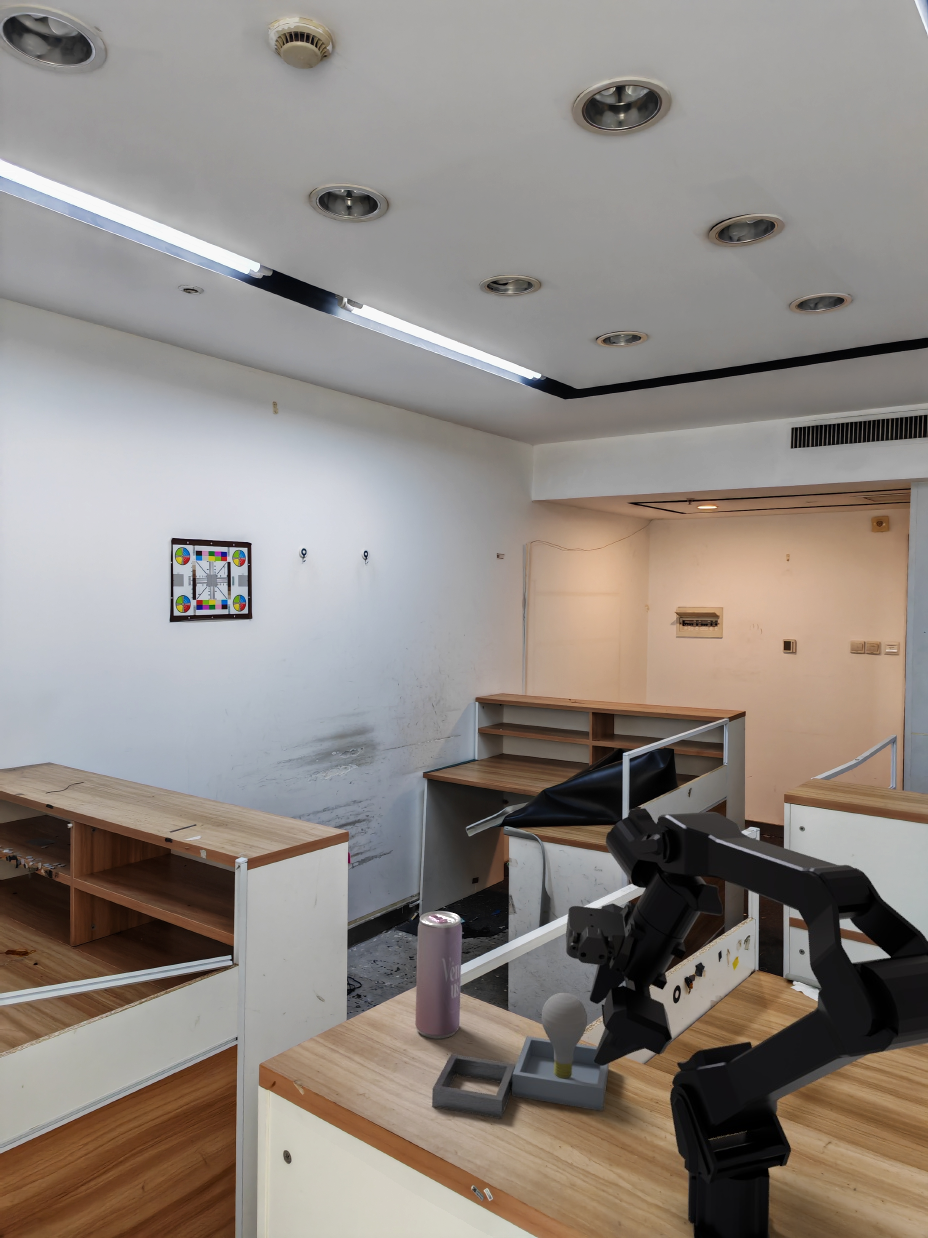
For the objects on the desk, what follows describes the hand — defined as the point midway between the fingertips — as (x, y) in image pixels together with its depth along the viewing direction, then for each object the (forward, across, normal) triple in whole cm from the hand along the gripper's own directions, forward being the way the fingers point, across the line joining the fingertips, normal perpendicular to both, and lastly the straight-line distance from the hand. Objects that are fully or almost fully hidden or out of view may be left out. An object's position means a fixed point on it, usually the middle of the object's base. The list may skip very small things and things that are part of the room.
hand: (595, 1031), depth 89 cm
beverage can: (+22, -16, -12) cm, 30 cm away
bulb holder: (+16, -2, -8) cm, 18 cm away
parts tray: (+13, -6, +2) cm, 15 cm away
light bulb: (+13, -6, +2) cm, 14 cm away
